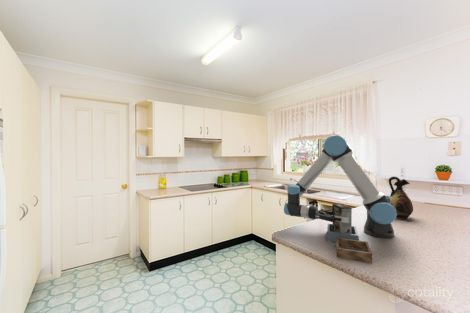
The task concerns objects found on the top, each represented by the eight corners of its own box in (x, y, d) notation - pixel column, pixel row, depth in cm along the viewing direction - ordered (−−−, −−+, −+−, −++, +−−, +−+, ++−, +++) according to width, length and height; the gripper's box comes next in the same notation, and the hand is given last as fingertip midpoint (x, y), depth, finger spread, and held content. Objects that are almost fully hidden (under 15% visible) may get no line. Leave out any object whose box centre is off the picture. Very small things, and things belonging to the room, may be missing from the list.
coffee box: (332, 231, 126) (331, 203, 126) (342, 230, 127) (342, 203, 126) (340, 236, 117) (340, 207, 117) (352, 236, 117) (351, 207, 117)
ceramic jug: (411, 216, 160) (411, 176, 160) (414, 222, 147) (414, 178, 147) (383, 213, 169) (383, 175, 169) (384, 218, 156) (384, 177, 156)
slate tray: (355, 235, 125) (355, 226, 125) (358, 245, 112) (358, 235, 112) (327, 231, 132) (327, 223, 132) (327, 240, 118) (327, 231, 118)
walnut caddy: (367, 249, 106) (367, 241, 106) (372, 262, 94) (372, 253, 93) (336, 245, 112) (336, 237, 112) (336, 257, 99) (336, 248, 99)
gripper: (314, 213, 141) (352, 219, 129) (303, 223, 122) (347, 230, 110) (314, 202, 141) (352, 206, 129) (303, 210, 122) (346, 216, 110)
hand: (349, 217), depth 119 cm, fingers closed on coffee box, 10 cm apart
